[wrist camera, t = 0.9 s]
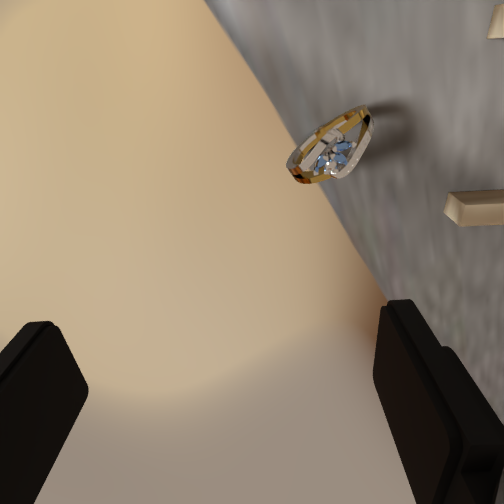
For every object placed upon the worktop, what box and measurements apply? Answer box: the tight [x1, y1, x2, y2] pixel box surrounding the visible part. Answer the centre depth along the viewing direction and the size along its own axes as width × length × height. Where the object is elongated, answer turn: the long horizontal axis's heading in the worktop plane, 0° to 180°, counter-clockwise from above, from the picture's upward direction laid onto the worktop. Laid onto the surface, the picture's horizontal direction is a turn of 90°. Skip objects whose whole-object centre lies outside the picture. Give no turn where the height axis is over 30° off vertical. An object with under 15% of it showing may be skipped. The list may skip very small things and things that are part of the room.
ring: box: [286, 105, 374, 184], centre depth 25 cm, size 7×3×8 cm, turn 126°
